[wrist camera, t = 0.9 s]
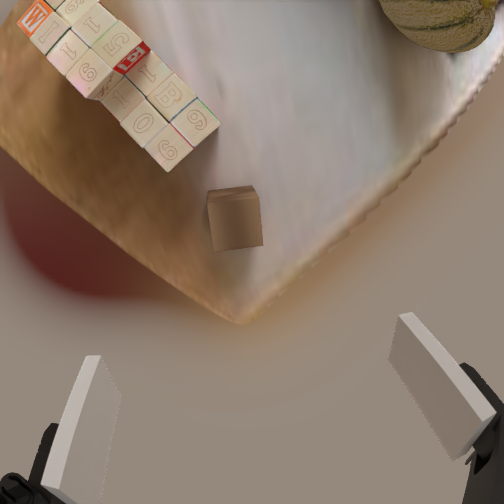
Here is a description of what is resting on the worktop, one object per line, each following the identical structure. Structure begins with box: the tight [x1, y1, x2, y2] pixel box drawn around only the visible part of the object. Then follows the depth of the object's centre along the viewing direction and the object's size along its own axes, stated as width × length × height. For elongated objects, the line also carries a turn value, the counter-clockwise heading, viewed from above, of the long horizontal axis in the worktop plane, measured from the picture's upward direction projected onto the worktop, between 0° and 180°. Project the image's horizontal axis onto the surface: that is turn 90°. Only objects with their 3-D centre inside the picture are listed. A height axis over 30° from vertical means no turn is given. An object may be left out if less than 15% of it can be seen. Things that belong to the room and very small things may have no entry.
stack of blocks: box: [17, 0, 222, 173], centre depth 23 cm, size 21×6×12 cm, turn 40°
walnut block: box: [207, 186, 263, 252], centre depth 33 cm, size 5×5×6 cm
